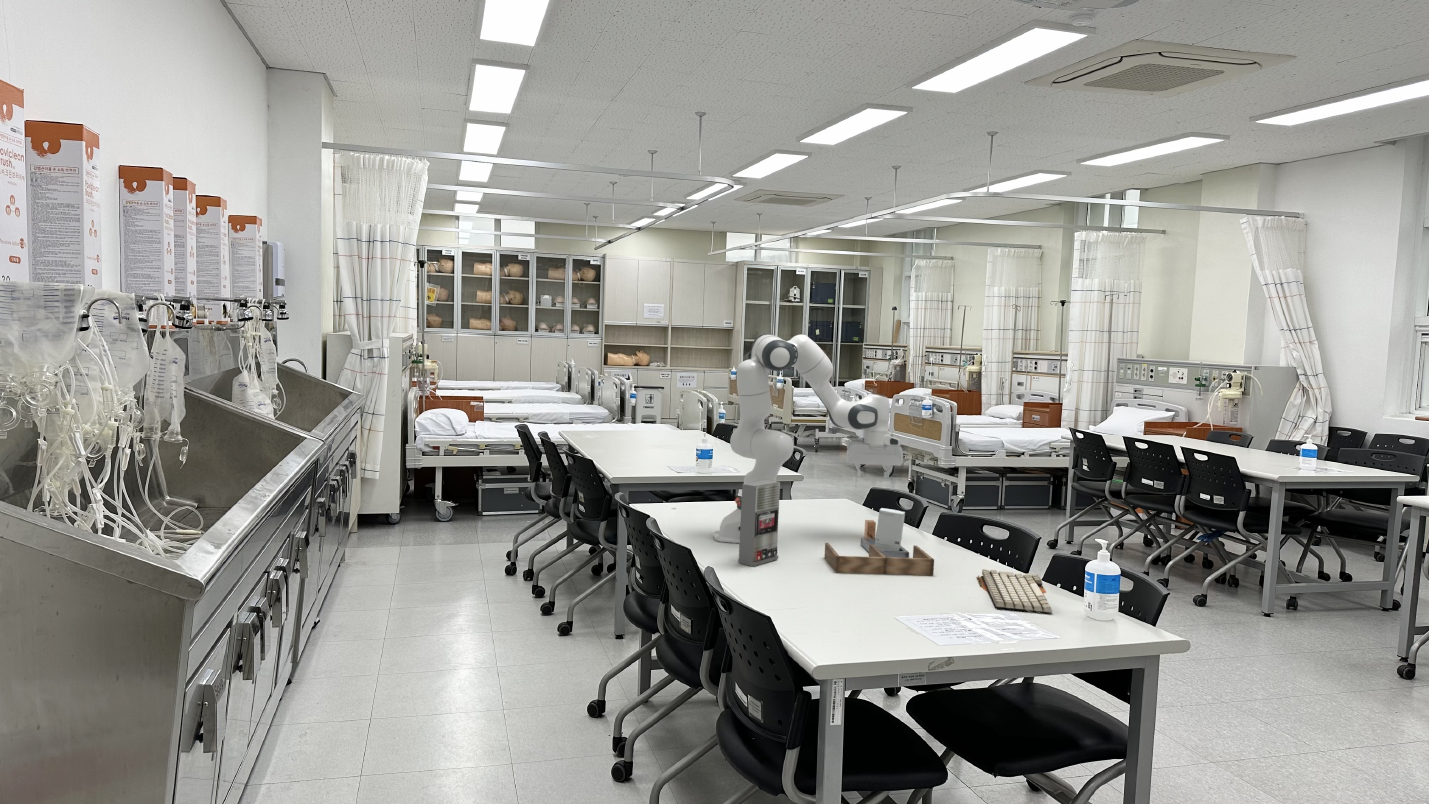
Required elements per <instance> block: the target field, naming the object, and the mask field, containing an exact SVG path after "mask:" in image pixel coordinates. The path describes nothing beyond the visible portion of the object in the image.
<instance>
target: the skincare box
mask: <svg viewBox="0 0 1429 804" xmlns="http://www.w3.org/2000/svg"><path fill="white" fill-rule="evenodd" d="M905 516H906V512H905V511H901V510H896V509H891V508H890V509H889V508H883V507H881V508H880V509H879V512H878V516H877V517H878V519H877V524H876V531H875V538H876V539H875V545H874V546H875V547H876V548H877V549H878V550H879V551H900V546H902V539H903V531H904V523H905Z"/></svg>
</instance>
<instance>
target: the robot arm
mask: <svg viewBox="0 0 1429 804" xmlns="http://www.w3.org/2000/svg"><path fill="white" fill-rule="evenodd" d="M750 348H751V349H750V351H749V353H748V359H746V360H744V361H742V362H740V363H739V364H738V366H737V368H736V387H737V388H736V389H737V396H738V405H739V411H740V412H739V413H740V414H739V415H740V416H739V422H738V425H737V428H736V429H734V431H732V434H731V436H730V440H729V441H730V443H729V444H730V448H731V450H732V452H734V453H735V454H737V455H739V456H741V457H743V458H747V459H752V460H755V463H754V466H753V468H752V470H750V471H749V472H747V473H746V474H745V475H744V478H743V484H746V483H752V482H758V481H764V480H770V481H777V478H778V475H779V472H780V470H781V467H782V466H783V464H785V462H787V461H788V460H789V459H790V458H791V456H793V452H794V449H795V448H794V446H795V445H794V441H793V438H792V437H791V436H790V435H789V434H787V433H784V432H782V431H780V430H776V429H775V430H774V429H769V428H765V419H766V418H768V417H769V416H770V415H771V414H772V411H773V404H772V397H771V392H770V391H771V388H770V384H769V375H770V373H771V371H773V372H781V371H783V370H786V369H788V368H789V367H791V366H793V368H795V369H796V371H797V372H798V373H799V375H801V377H802V378H803V379H804V380H805V381H806V383H808V384H809V386H810V387H811V389H812V391H813V392H814V393H815V394H816V396H817V397H818V399H819V400H820V401H821V403H822V404H823V406H824V407H825V409H826V411H827V415H828V417H829V420H830V422H831V424H832V425H834V426H835V427H836V428H840V429H850V430H856V431H857V430H858V431H859V430H863V437H861V438H859V437H858V438H857V437H851V438H849V439H848V440H847V441H846V449H847V450H846V455H845V461H846V462H847V463H848V464H850V465H851V464H852V465H854V466H855V468H856V471H857V477H860V478H861V477H864V471H863V470H862V471H861V469H860V468H861V465H868V466H869V465H874V466H887V470H886V471H885V472H883V478H885V479H889V477H890V473H891V472H892V470H893V466H895V467H896V466H897V467H901V466H902V465H903V463H904V454H903V453H904V452H903V447H901V445H902V440H901V439H899V438H897V437H894V436H893V435H889V434H890V433H889V431H890V430H889V422H890V418H891V417H890V415H891V413H890V412H891V408H890V407H891V406H890V400H889V397H887V396H886V395H883V394H879V393H874V392H873V393H872V392H871V393H868V394H867V395H866V396H865V397H863V398H861V399H859V400H857V401H849V400H845V399H843V398H842V397H841V396H840V395H839V394H838V393H837V391H836V389H835V388H834V387H833V385H832V384H831V383H830V379H831V378H832V376H833V374H834V365H833V363H832V362H831V360H830V358H829V356H827V354H826V353H825V352H824V351H823V349H822V348H821V347H820V346H819V345H818V344H817V343H816V342H815V341H814V340H812V339H811V338H810V337H809V336H808V335H805V334H796V335H794V336H793V337H792V338H790V339H789V340H785V339H783V338H781V337H779V336H777V335H775V334H772V333H762V334H760V335H758V336H757V337H756V338H755V339H754V340H753V342H752V344H751V347H750ZM734 502H735V504H736V509H735V510H733V511H732V512H730V513H729V514H727V515H726V516H725V517H723V519H722V520H721V522H720V525H719V530H716V531H714V532H713V535H712V538H713V539H714V540H715V541H717V542H719V543H720V542H721V543H733V544H740V523H741V502H742V497H741V498H740V497H736V498H735V499H734Z"/></svg>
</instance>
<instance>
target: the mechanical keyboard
mask: <svg viewBox="0 0 1429 804" xmlns="http://www.w3.org/2000/svg"><path fill="white" fill-rule="evenodd" d="M981 574H982V575H977V576H976V581H977V584H978V586H979V587H980V588H981V589H982V590H984V591H985V592H986V593H987V595H988V596H989V598H990V602H991V603H992V605H993V607H994V609H995V610H1002V611H1006V612H1016V613H1026V614H1027V613H1028V614H1029V613H1031V614H1034V613H1036V614H1048V615H1049V614H1053V612H1052V607H1051V605H1050V604H1049V602H1048V599H1047V598H1046V596H1045V595H1044V594H1047V591H1046V589H1045V587H1044V586H1043V581H1042V578H1041V576H1040V575H1039V574H1038V573H1037V574H1035V573H1034V574H1032V575H1031V574H1030V573H1023V574H1022V572H1016V573H1015V574H1014V572H1008V571H1001V570H999V571H998V570H996V569H990V570H989V569H985V568H982V570H981Z"/></svg>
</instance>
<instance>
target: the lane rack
mask: <svg viewBox="0 0 1429 804" xmlns="http://www.w3.org/2000/svg"><path fill="white" fill-rule="evenodd" d="M912 548H913V549H912V557H909V558H893V557H886V556H885V555H883V554H882V553H881V552H880V551H879V550H878V549H877V548H876V547H875V545H873V544H869V552H868V556H859V555H858V556H857V555H856V556H855V555H839V554H838V553H837V552H836V550H835V549H834V548H833V546H831V544H830V543H829V542H825V543H824V556H823V557H824V560H825V561H827V563H828V565H829V566H830V567H831V568H832V570H833V571H834V572H835V574H836V573H837V574H865V575H869V574H870V575H896V576H897V575H899V576H900V575H901V576H903V575H905V576H934V572H935V571H934V570H935V559H934V558H933V557H932V556H930V554H928V553H927V552H926V551H924V550H923V549H921V547H919V546H918V545H915V544H914V545H913V547H912Z"/></svg>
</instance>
